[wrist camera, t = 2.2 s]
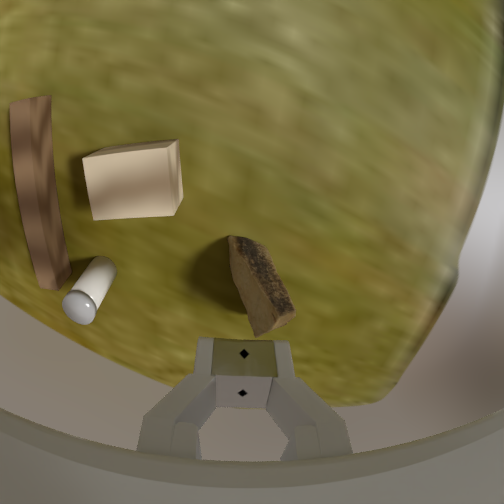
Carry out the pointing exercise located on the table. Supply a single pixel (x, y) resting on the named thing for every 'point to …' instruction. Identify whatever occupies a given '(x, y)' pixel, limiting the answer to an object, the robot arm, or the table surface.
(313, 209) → the table surface
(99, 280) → the salt shaker
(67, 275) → the brown wooden bar
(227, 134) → the table surface
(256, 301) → the rock
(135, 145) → the maple block
